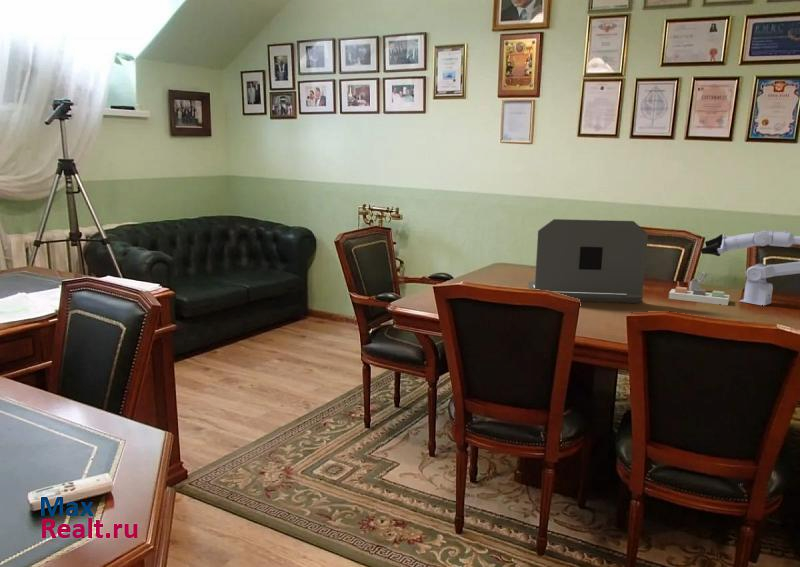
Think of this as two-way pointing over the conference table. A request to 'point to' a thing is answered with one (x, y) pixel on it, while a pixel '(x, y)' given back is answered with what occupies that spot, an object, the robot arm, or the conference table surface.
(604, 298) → the laptop
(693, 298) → the button panel
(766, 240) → the robot arm
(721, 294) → the sage button
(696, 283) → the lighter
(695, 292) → the charcoal button
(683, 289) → the terracotta button
